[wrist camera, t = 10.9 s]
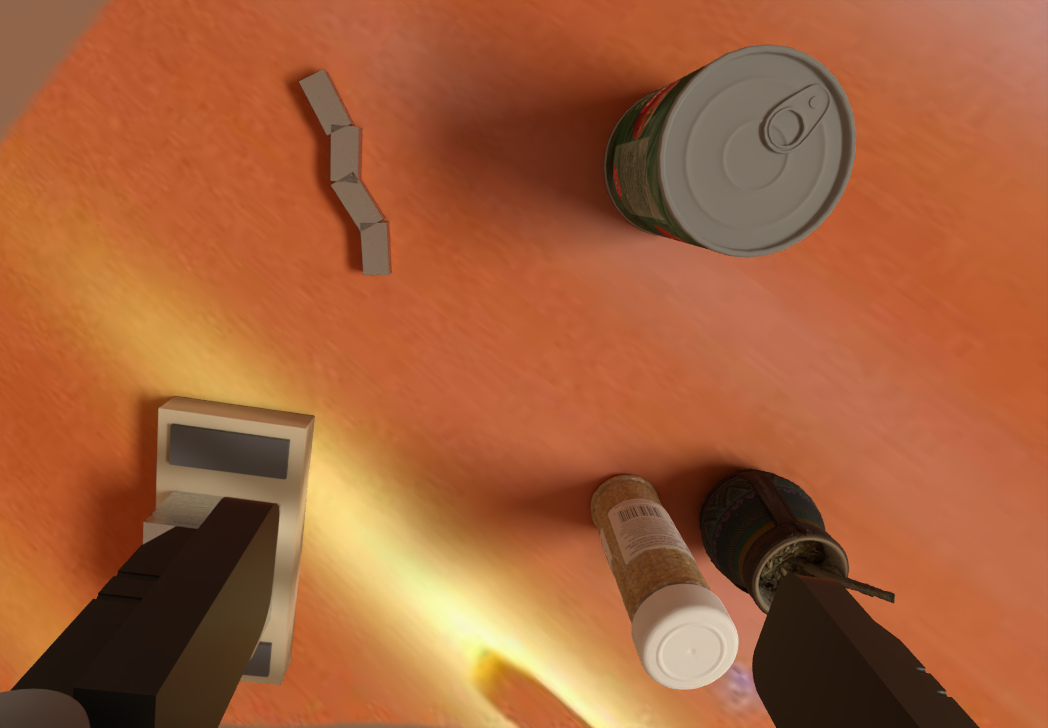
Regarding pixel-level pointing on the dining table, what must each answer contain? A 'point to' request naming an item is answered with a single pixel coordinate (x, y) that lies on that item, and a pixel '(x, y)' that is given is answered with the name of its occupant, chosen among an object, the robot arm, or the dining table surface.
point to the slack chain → (350, 172)
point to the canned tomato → (735, 153)
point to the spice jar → (662, 587)
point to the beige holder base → (245, 491)
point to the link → (188, 521)
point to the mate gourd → (771, 536)
